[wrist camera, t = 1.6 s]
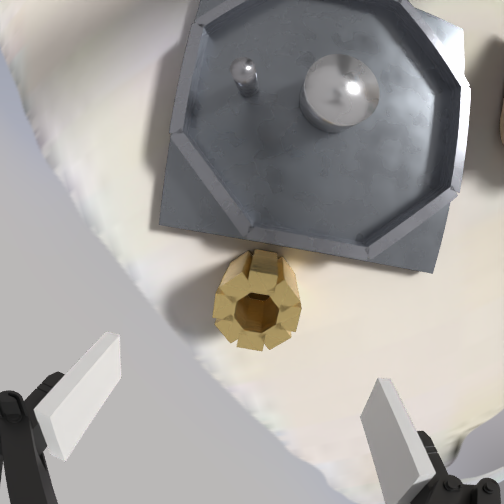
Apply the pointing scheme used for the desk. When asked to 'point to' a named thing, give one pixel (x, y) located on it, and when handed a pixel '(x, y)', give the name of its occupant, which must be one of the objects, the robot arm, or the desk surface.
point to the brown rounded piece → (502, 124)
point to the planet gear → (257, 301)
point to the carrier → (320, 127)
